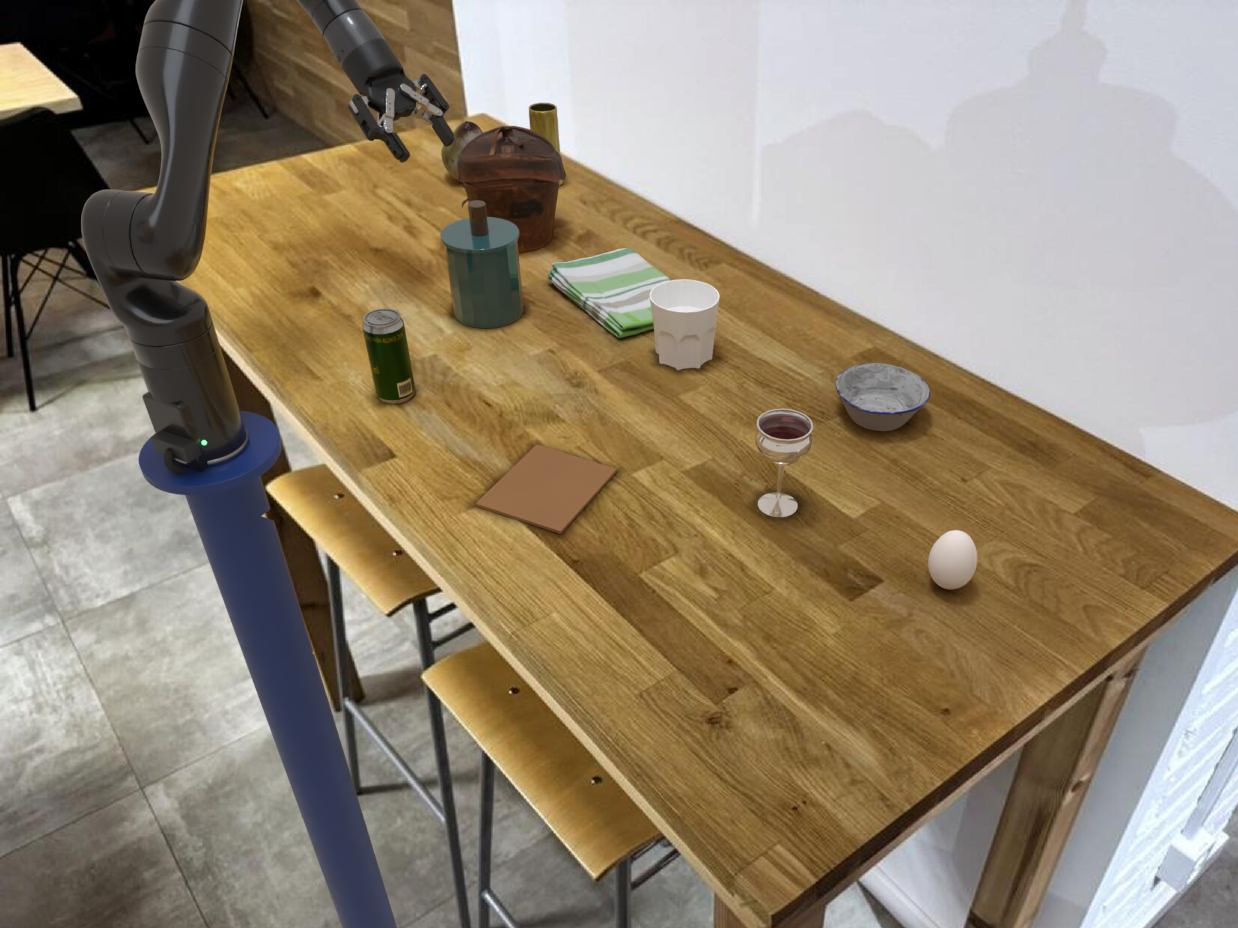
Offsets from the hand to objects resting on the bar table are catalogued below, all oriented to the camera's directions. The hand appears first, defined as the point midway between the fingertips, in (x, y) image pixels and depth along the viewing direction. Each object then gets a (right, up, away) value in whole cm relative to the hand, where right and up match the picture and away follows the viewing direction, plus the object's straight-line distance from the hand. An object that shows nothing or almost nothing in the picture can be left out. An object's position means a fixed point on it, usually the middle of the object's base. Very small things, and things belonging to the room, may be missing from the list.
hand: (428, 151), depth 157 cm
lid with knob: (+7, -12, +3) cm, 14 cm away
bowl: (+65, -40, -8) cm, 76 cm away
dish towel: (+28, -18, +16) cm, 37 cm away
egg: (+69, -62, -34) cm, 99 cm away
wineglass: (+50, -53, -24) cm, 76 cm away
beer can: (-2, -37, -8) cm, 38 cm away
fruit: (-6, +13, +51) cm, 53 cm away
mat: (+21, -51, -23) cm, 60 cm away
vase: (+9, +12, +51) cm, 54 cm away
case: (+7, -4, +32) cm, 33 cm away
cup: (+37, -30, +3) cm, 48 cm away
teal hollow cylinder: (+6, -21, +11) cm, 25 cm away
